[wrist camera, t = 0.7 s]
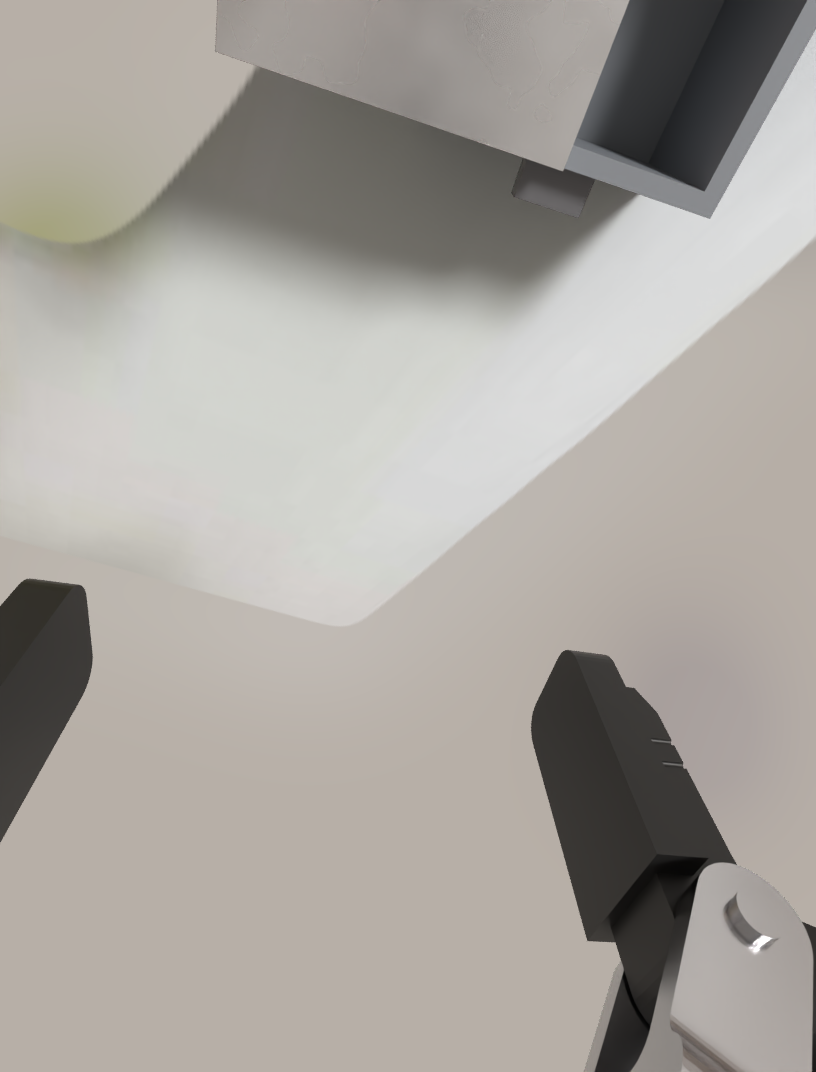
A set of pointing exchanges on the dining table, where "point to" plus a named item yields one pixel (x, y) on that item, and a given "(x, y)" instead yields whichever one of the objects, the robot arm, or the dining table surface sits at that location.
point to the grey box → (677, 102)
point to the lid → (441, 60)
